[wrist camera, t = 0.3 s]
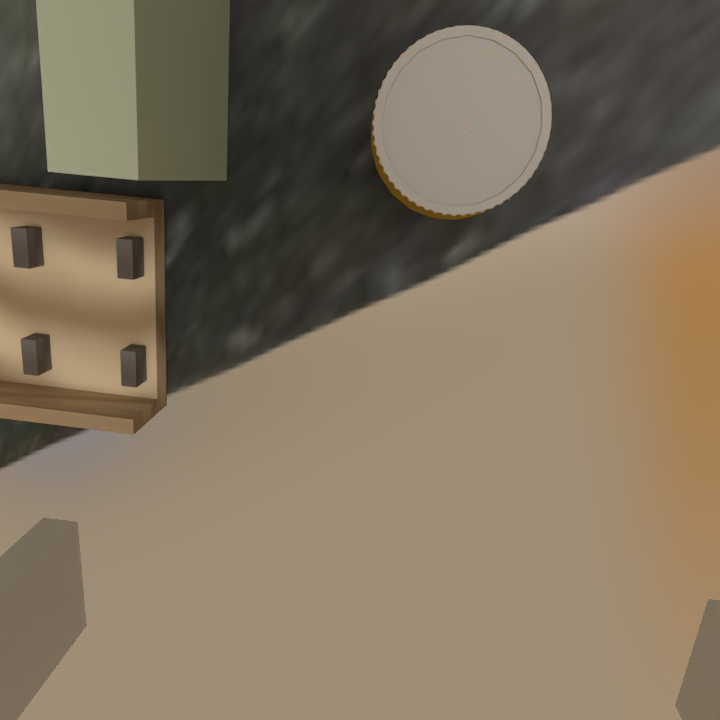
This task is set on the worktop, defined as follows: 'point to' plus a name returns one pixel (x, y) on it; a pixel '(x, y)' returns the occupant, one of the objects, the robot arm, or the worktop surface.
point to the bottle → (460, 122)
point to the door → (135, 87)
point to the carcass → (81, 308)
